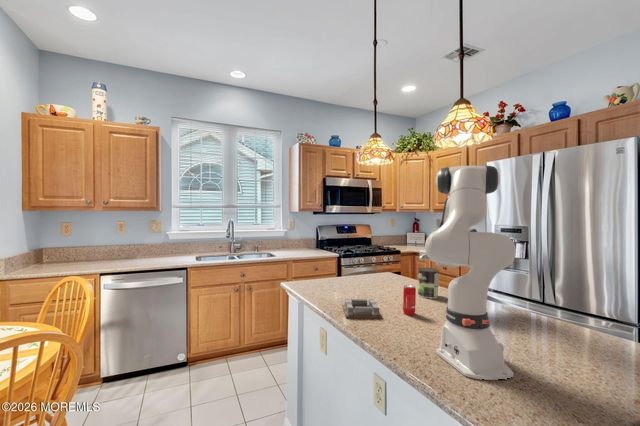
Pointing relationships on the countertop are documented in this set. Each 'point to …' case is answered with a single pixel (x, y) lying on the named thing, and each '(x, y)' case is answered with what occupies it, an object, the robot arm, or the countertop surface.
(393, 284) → the countertop surface
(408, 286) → the beverage can
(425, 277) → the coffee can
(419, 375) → the countertop surface
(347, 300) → the socket block
